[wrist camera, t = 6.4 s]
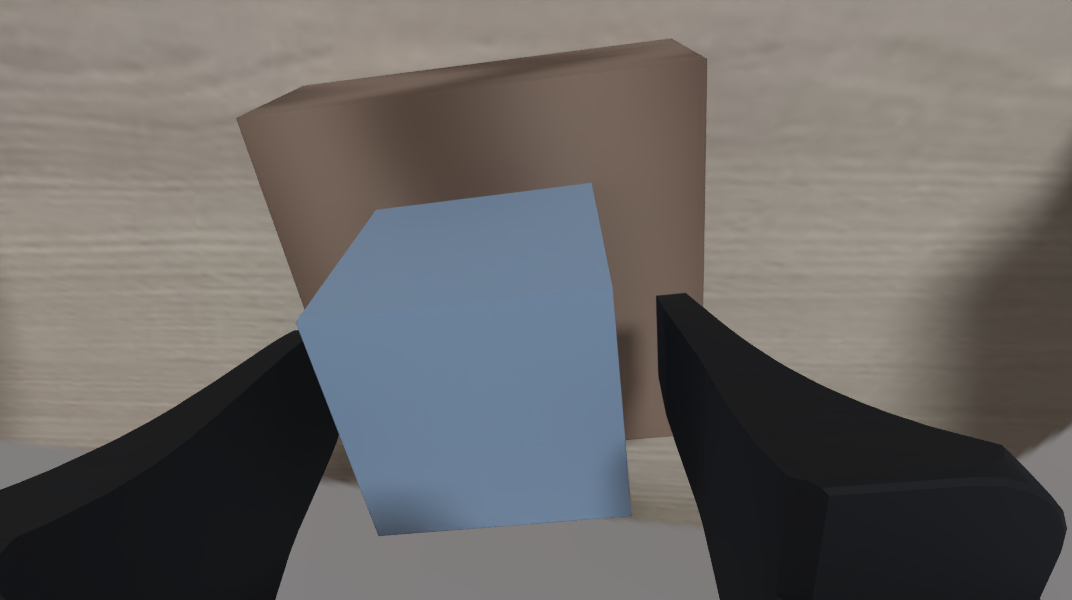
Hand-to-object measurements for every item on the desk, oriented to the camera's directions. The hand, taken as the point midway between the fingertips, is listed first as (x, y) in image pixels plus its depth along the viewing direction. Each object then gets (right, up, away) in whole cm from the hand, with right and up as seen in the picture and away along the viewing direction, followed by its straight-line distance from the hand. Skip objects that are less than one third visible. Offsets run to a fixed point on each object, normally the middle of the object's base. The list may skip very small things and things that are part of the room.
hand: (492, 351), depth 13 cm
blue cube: (0, +1, +2) cm, 2 cm away
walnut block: (0, +3, +6) cm, 6 cm away
